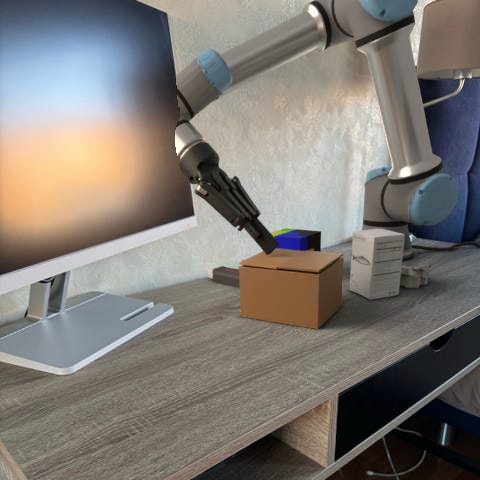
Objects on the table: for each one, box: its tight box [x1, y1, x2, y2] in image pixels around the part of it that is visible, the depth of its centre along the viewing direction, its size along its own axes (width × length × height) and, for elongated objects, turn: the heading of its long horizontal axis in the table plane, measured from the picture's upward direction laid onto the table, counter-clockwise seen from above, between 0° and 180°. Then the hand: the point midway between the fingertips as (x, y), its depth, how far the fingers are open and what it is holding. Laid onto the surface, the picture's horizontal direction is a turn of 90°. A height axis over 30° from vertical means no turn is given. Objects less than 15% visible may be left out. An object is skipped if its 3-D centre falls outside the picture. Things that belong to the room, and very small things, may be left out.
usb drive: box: [206, 265, 240, 288], centre depth 104 cm, size 5×12×3 cm, turn 48°
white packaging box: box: [349, 229, 405, 301], centre depth 90 cm, size 7×7×13 cm
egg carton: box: [399, 264, 432, 289], centre depth 98 cm, size 11×8×4 cm
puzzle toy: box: [270, 227, 322, 252], centre depth 106 cm, size 10×10×10 cm
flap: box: [238, 248, 304, 269], centre depth 82 cm, size 7×13×1 cm, turn 151°
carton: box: [238, 251, 345, 330], centre depth 82 cm, size 15×13×10 cm
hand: (273, 249), depth 82 cm, fingers closed
